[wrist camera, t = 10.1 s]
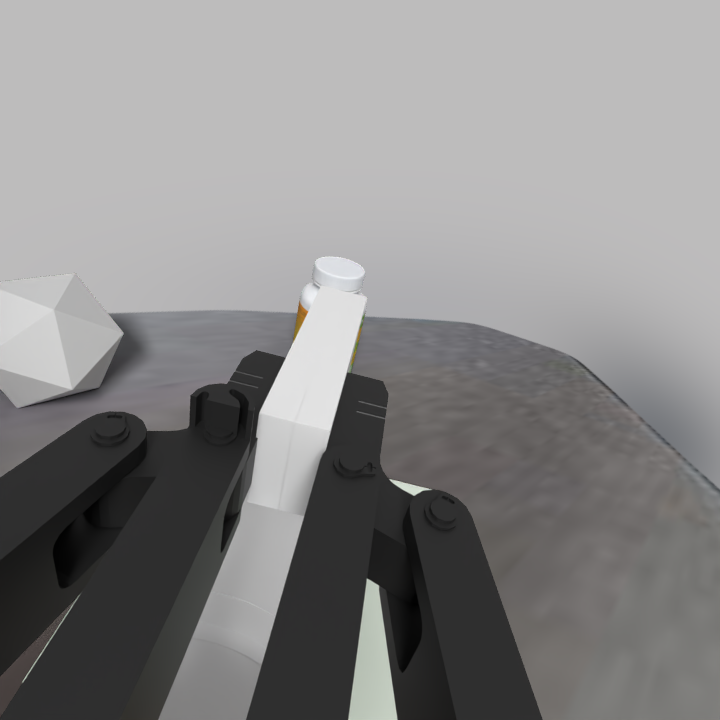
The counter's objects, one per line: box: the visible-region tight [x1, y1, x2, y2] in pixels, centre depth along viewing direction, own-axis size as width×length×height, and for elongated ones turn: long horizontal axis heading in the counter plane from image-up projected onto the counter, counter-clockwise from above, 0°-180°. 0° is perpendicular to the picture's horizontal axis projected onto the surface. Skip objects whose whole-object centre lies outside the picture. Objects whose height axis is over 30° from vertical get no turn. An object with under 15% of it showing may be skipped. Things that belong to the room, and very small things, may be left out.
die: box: [0, 273, 124, 408], centre depth 33 cm, size 8×9×10 cm
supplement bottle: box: [293, 256, 367, 373], centre depth 41 cm, size 5×5×10 cm
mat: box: [22, 479, 432, 720], centre depth 27 cm, size 16×18×1 cm
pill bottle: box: [158, 493, 304, 720], centre depth 23 cm, size 8×8×15 cm
